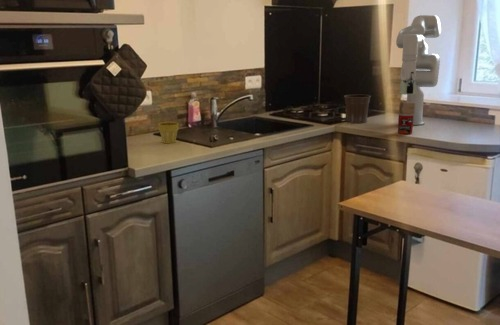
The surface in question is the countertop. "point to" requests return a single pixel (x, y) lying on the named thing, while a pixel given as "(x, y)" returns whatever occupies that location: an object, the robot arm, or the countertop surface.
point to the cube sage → (404, 88)
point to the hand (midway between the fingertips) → (407, 92)
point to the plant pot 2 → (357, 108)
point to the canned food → (405, 124)
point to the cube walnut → (406, 107)
